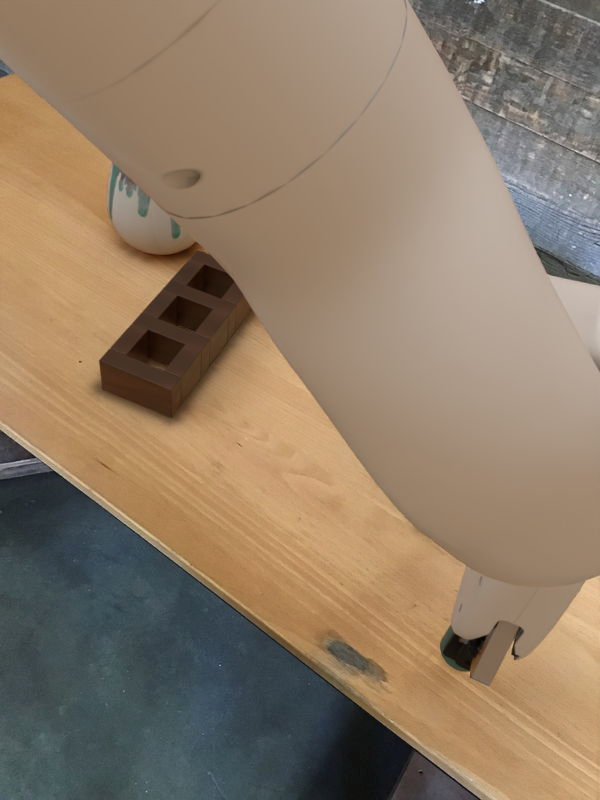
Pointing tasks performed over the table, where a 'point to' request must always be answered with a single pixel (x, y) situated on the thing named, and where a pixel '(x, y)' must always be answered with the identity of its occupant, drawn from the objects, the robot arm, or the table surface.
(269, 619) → the table surface
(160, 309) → the peg block
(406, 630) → the table surface
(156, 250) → the vase
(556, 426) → the robot arm
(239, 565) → the table surface
